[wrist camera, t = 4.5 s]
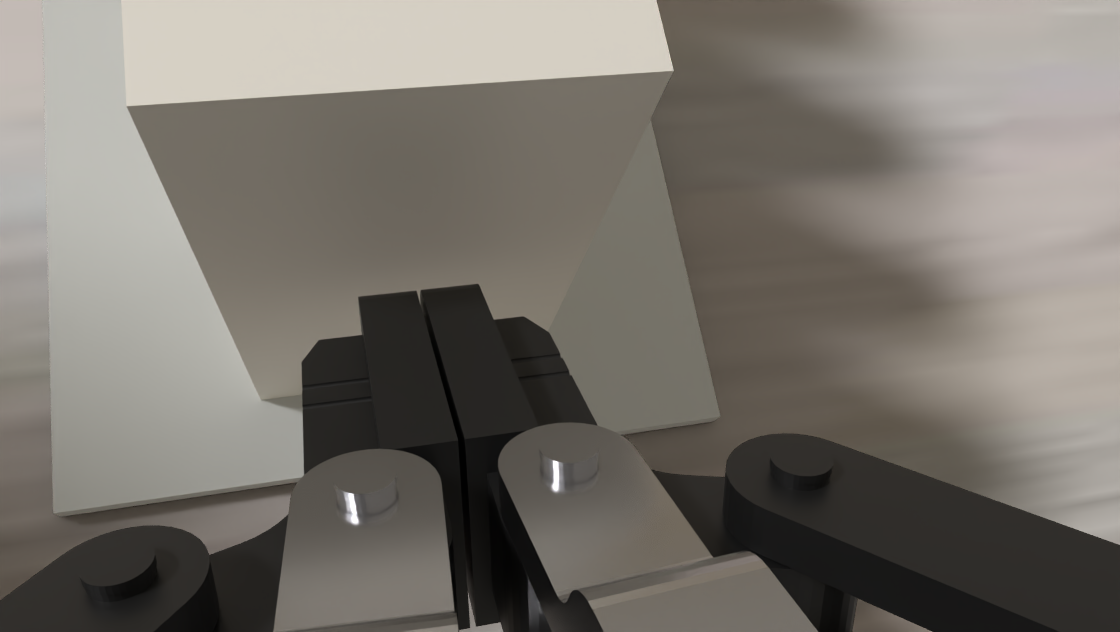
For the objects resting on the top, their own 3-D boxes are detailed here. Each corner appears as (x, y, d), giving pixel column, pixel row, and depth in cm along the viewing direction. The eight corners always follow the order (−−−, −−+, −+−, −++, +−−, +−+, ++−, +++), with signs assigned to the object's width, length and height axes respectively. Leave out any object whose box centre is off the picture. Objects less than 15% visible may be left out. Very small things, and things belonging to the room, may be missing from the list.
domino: (260, 399, 18) (125, 106, 9) (251, 297, 18) (117, -82, 9) (531, 365, 19) (673, 71, 10) (514, 269, 20) (632, -96, 10)
